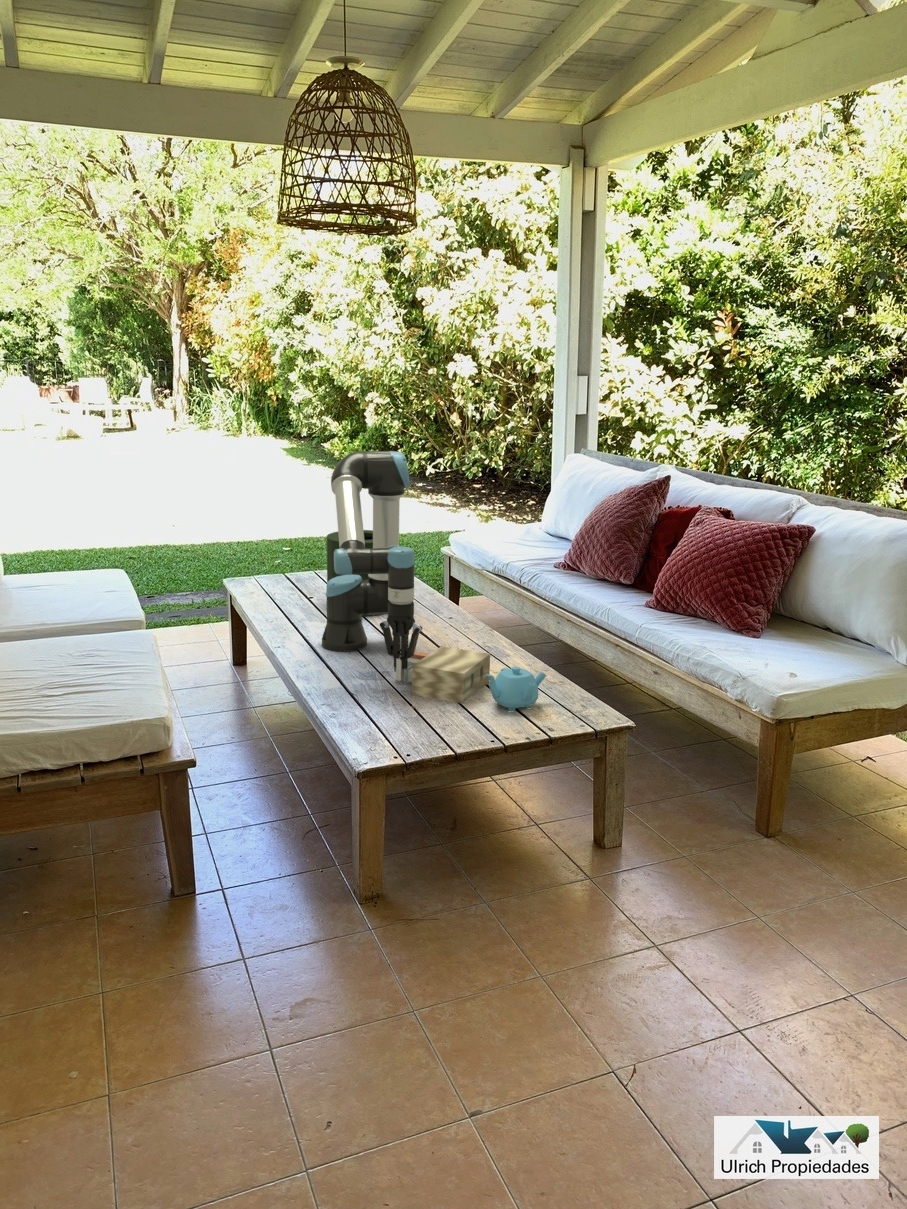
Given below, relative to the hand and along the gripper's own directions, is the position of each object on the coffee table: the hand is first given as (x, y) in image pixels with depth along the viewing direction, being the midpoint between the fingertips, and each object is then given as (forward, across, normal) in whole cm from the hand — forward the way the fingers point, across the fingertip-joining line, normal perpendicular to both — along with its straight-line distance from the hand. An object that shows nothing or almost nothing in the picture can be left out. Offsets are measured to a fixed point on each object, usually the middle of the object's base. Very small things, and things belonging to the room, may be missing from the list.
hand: (400, 679), depth 280 cm
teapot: (+3, +35, +2) cm, 35 cm away
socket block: (+3, +13, +7) cm, 15 cm away
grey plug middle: (0, +4, +7) cm, 8 cm away
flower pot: (+3, -54, +72) cm, 90 cm away
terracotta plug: (0, +4, +14) cm, 15 cm away
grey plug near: (0, +11, 0) cm, 11 cm away
